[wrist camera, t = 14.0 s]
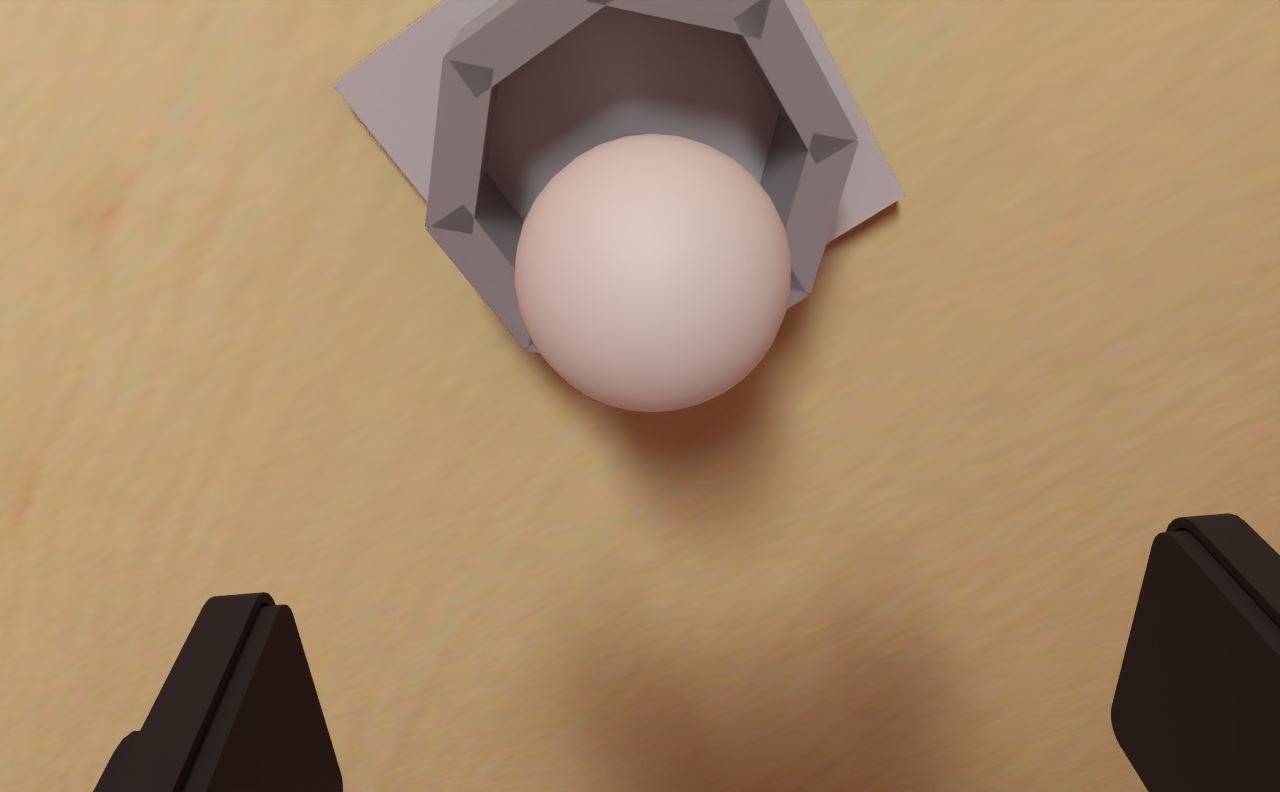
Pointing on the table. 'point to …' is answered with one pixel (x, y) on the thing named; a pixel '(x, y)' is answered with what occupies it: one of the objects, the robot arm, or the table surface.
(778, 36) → the socket
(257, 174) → the table surface
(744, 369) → the lightbulb
